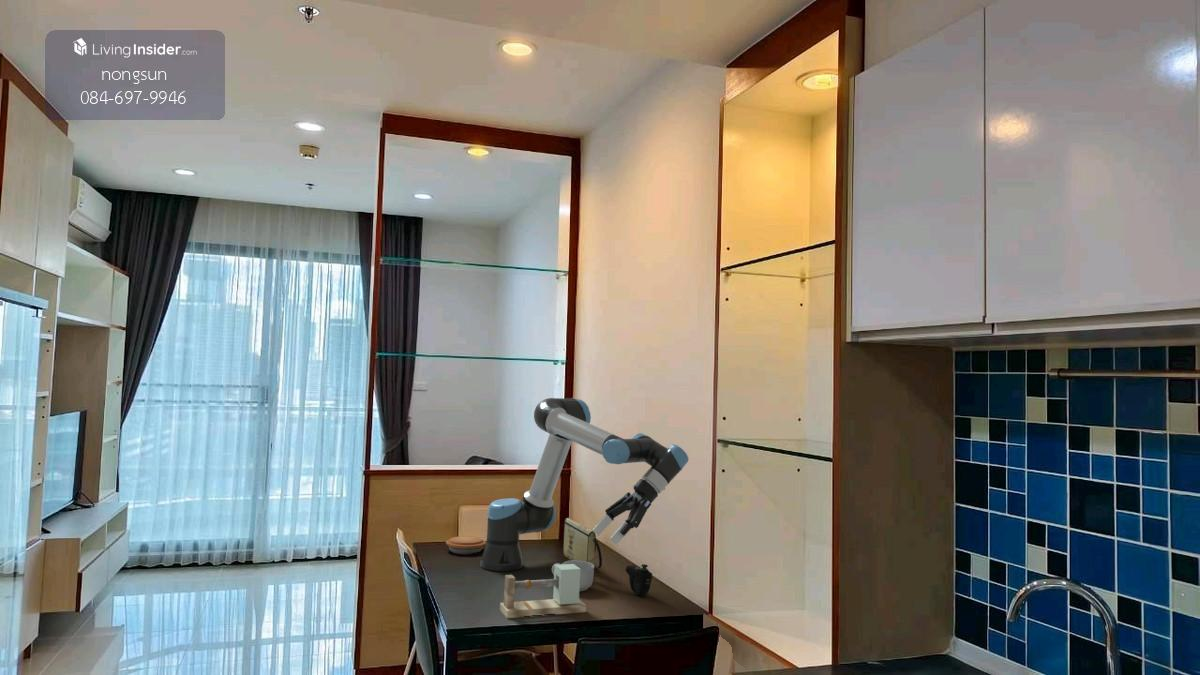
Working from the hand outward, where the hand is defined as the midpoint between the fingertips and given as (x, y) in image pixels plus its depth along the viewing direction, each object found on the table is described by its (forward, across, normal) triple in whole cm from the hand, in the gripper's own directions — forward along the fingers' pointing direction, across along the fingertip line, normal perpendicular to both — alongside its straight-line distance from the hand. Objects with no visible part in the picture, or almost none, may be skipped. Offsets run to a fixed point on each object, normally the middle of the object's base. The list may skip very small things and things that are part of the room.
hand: (603, 537), depth 228 cm
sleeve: (+21, +1, -5) cm, 22 cm away
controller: (+3, +10, -27) cm, 29 cm away
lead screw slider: (+28, +1, -2) cm, 28 cm away
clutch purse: (+5, +51, -24) cm, 56 cm away
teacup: (+16, +21, -14) cm, 30 cm away
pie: (+31, +80, +3) cm, 86 cm away
